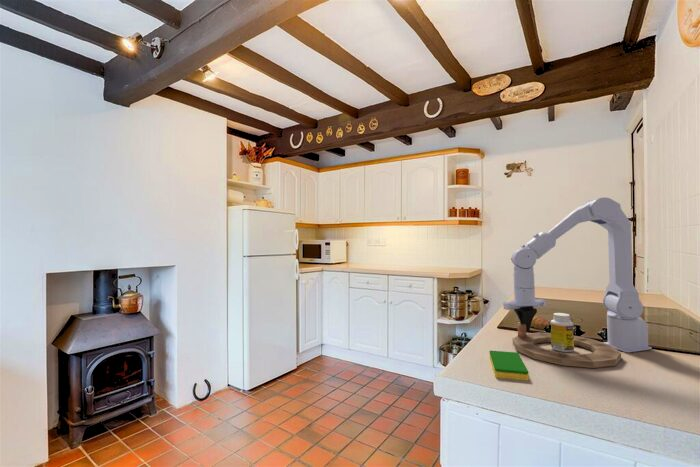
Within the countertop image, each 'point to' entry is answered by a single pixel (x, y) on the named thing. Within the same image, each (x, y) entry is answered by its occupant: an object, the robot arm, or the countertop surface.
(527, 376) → the dish sponge
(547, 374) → the countertop surface
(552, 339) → the supplement bottle
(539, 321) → the pastry
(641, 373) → the countertop surface
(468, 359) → the countertop surface
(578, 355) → the faceted tan ring
